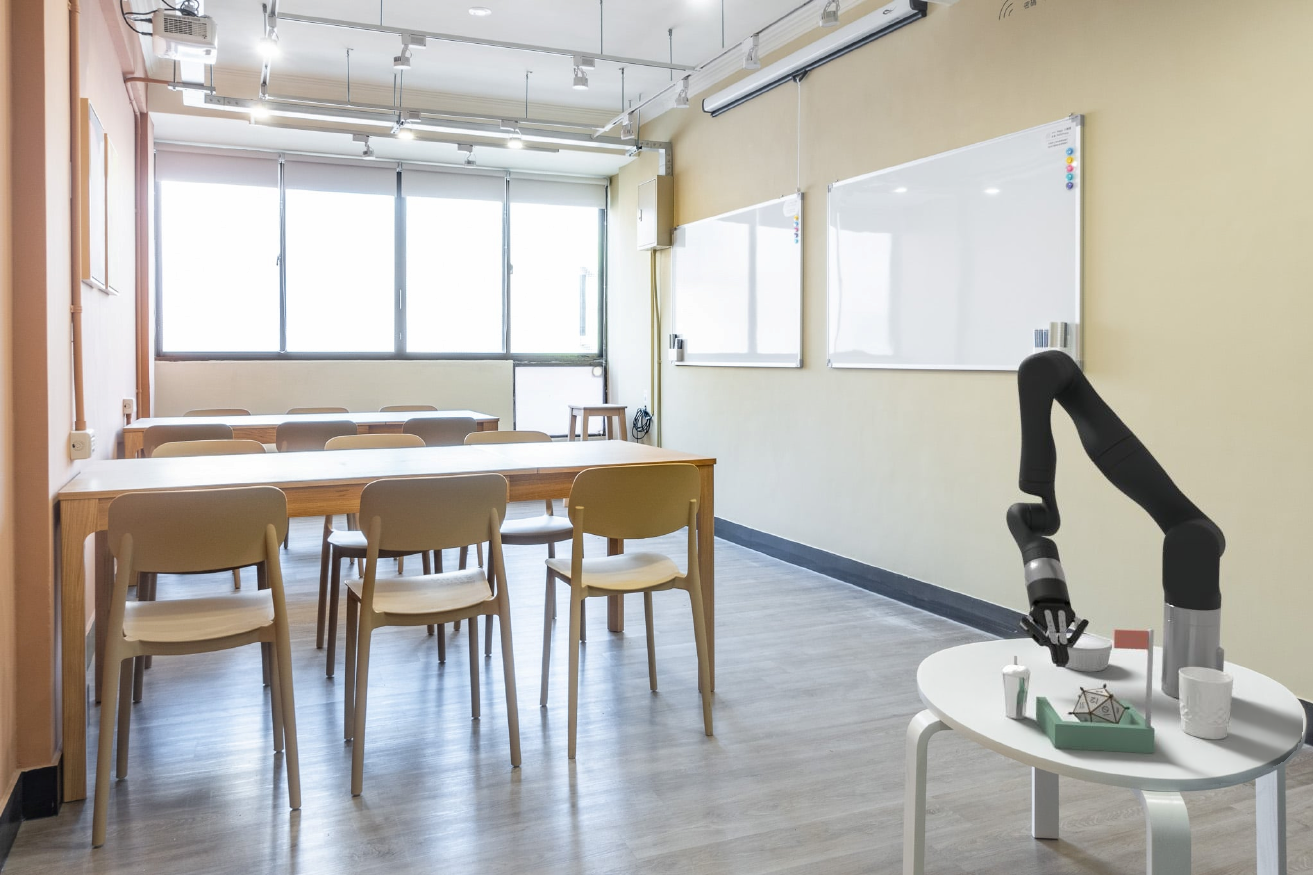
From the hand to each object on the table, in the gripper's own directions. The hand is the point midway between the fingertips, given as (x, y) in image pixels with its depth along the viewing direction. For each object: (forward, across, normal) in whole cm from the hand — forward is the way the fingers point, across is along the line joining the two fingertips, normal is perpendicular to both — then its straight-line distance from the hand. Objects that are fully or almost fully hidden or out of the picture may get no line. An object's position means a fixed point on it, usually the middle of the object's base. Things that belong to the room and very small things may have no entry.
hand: (1061, 665), depth 169 cm
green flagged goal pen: (+18, 0, -9) cm, 20 cm away
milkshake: (+12, -11, -4) cm, 17 cm away
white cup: (+15, +19, -6) cm, 25 cm away
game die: (+17, +1, -8) cm, 19 cm away
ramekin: (-9, +9, +18) cm, 22 cm away
